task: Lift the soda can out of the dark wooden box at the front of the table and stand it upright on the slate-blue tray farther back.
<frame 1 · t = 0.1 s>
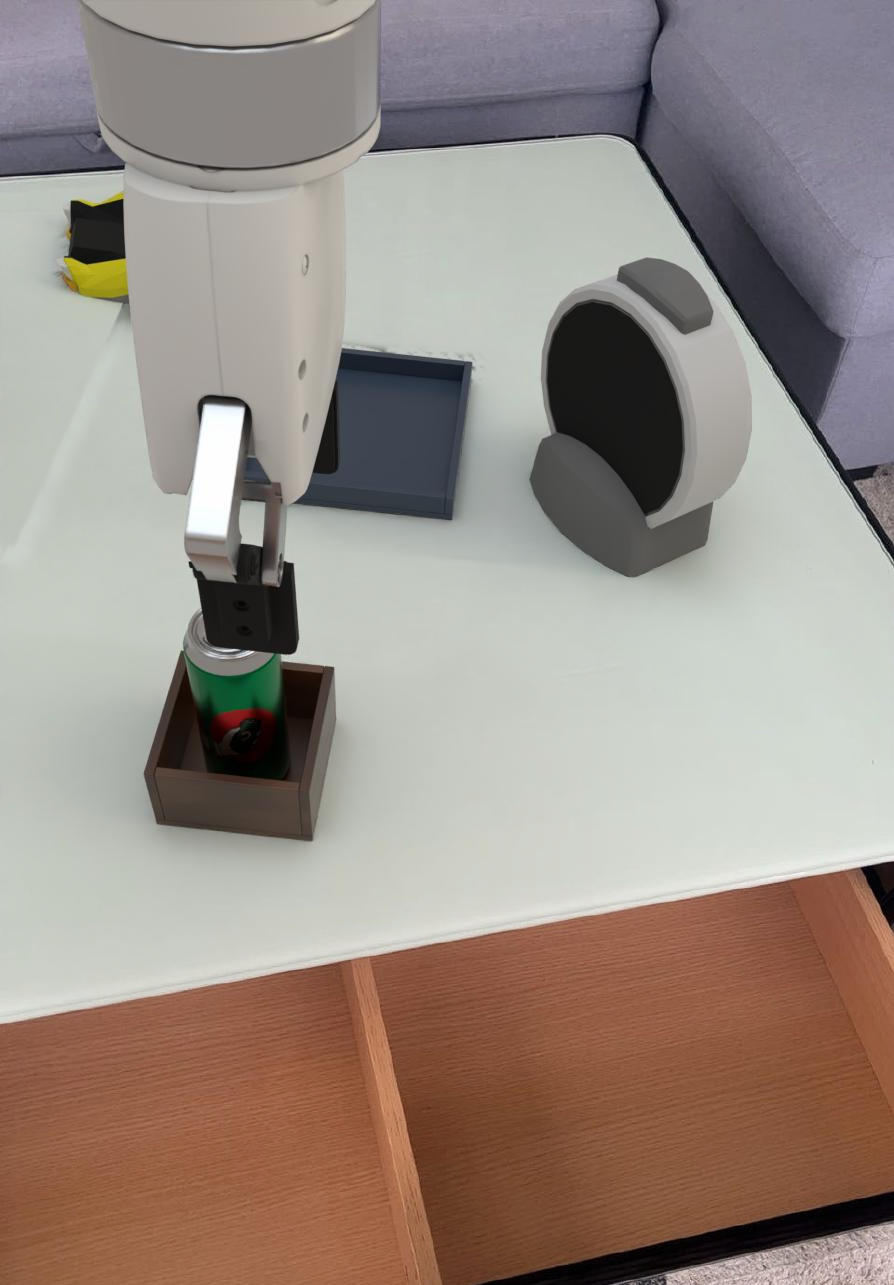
hand: (278, 550, 45), 27 cm above the table, tool pointing down, fingers open, 9 cm apart
soda can: (249, 766, 71), resting on dark wooden box
alarm clock: (616, 510, 87), on the table
tray: (356, 437, 90), on the table
dark wooden box: (249, 769, 71), on the table
gaming controller: (129, 277, 101), on the table
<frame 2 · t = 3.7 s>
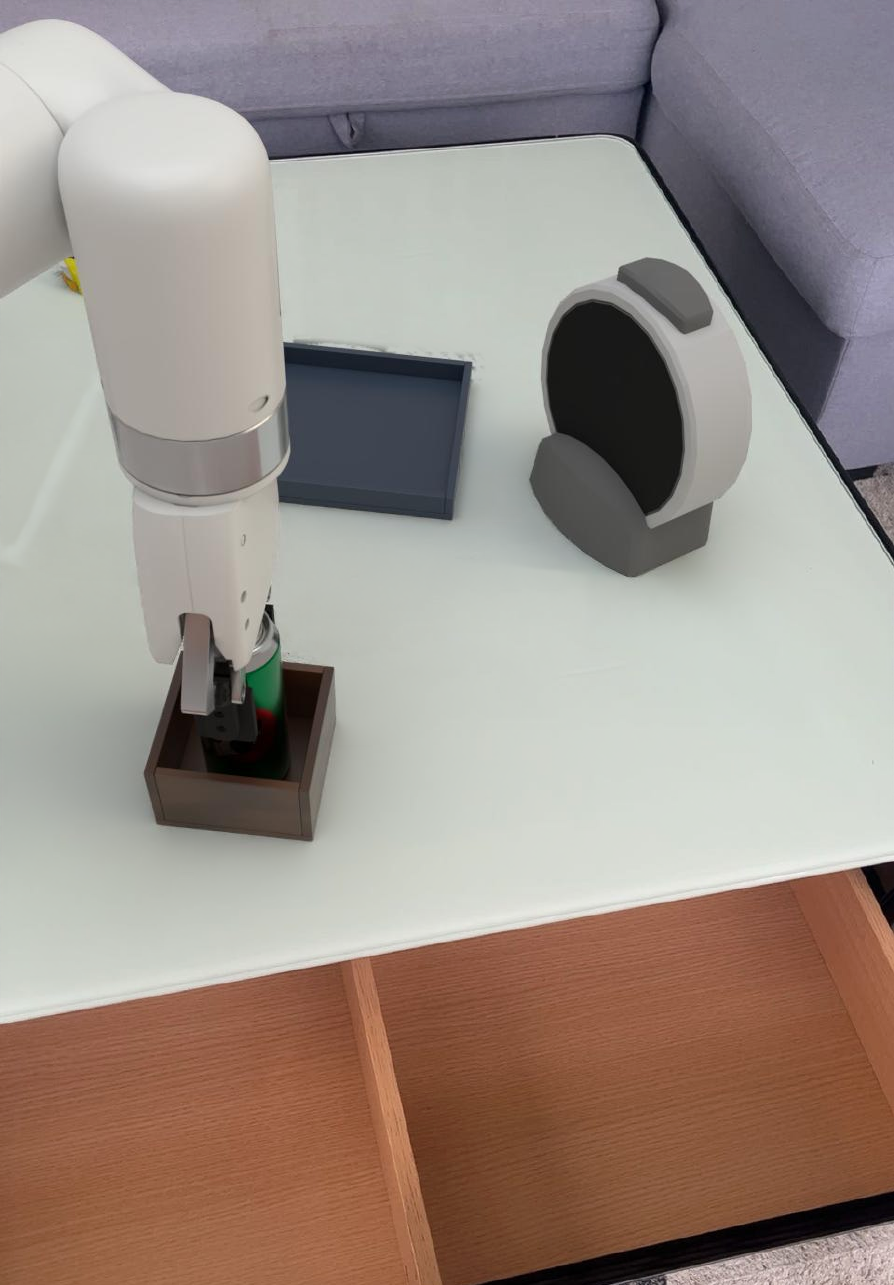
hand: (238, 691, 65), 7 cm above the table, tool pointing down, fingers closed on soda can, 5 cm apart
soda can: (249, 766, 71), resting on dark wooden box, touching gripper
everything else where it was.
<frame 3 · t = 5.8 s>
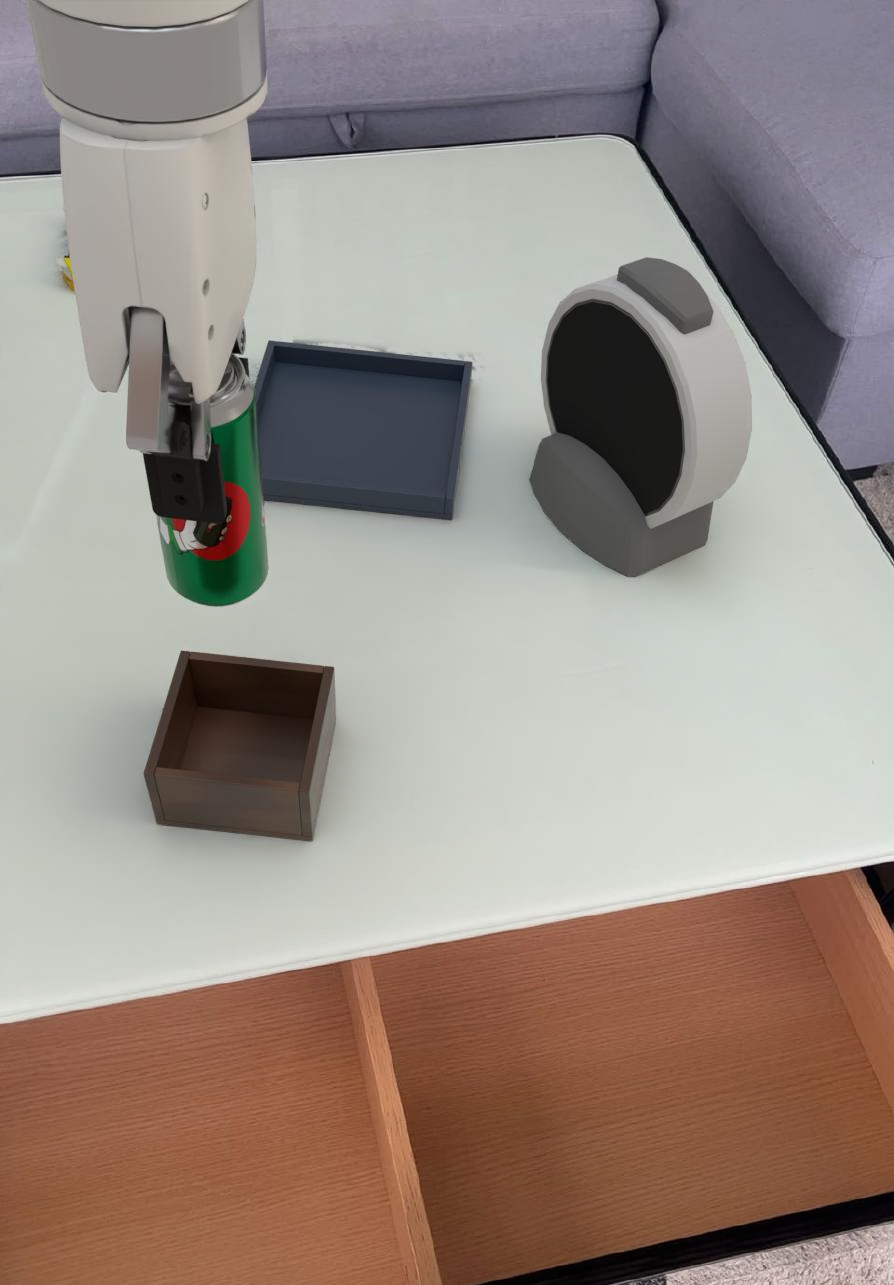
hand: (205, 469, 54), 22 cm above the table, tool pointing down, fingers closed on soda can, 5 cm apart
soda can: (219, 579, 60), point 15 cm above the table, touching gripper
everything else where it was.
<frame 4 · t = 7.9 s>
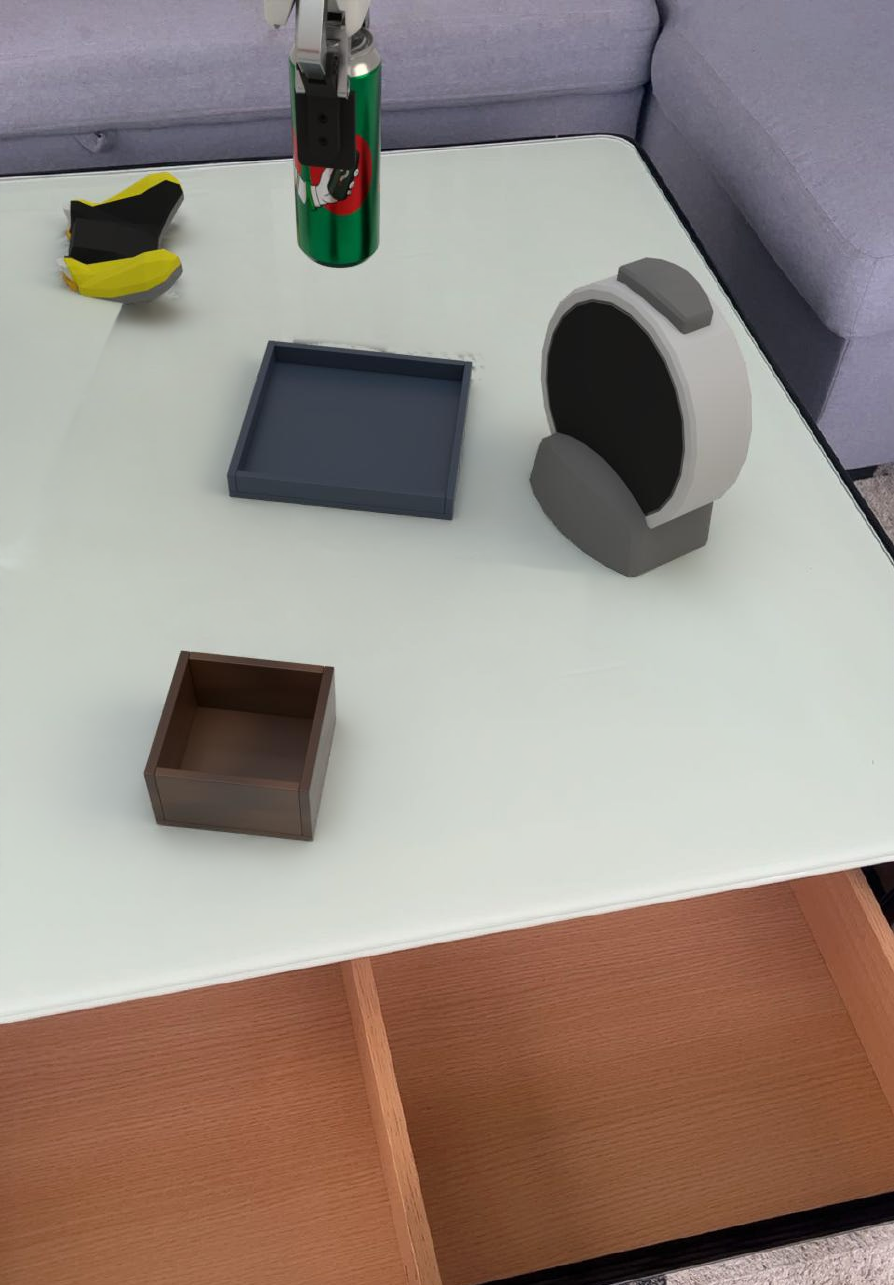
hand: (335, 136, 68), 24 cm above the table, tool pointing down, fingers closed on soda can, 5 cm apart
soda can: (338, 253, 73), point 17 cm above the table, touching gripper
everything else where it was.
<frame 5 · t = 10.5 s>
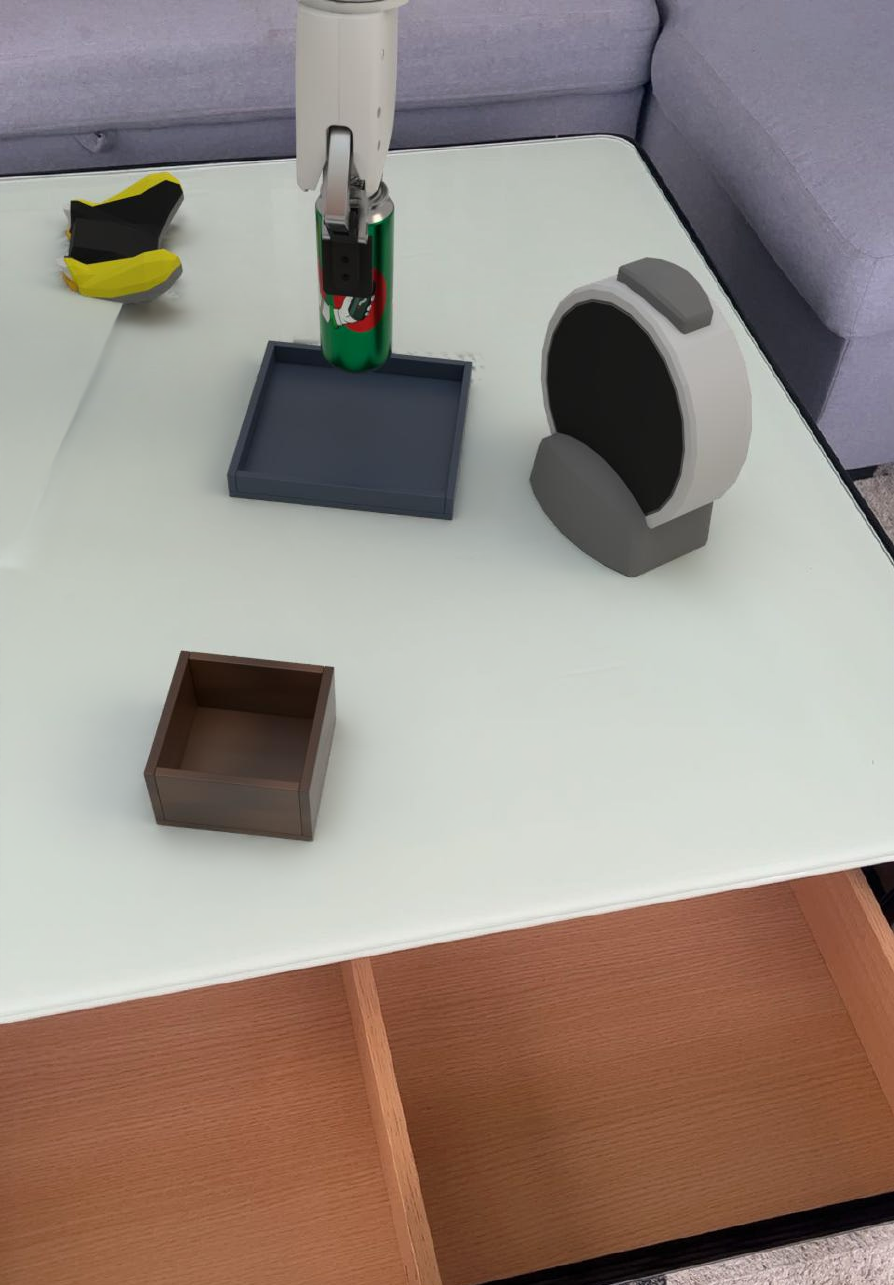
hand: (354, 266, 79), 14 cm above the table, tool pointing down, fingers closed on soda can, 5 cm apart
soda can: (356, 358, 84), point 7 cm above the table, touching gripper
everything else where it was.
when the fingers open (7 cm above the table, at t = 12.4 s): soda can stays where it is, resting on tray.
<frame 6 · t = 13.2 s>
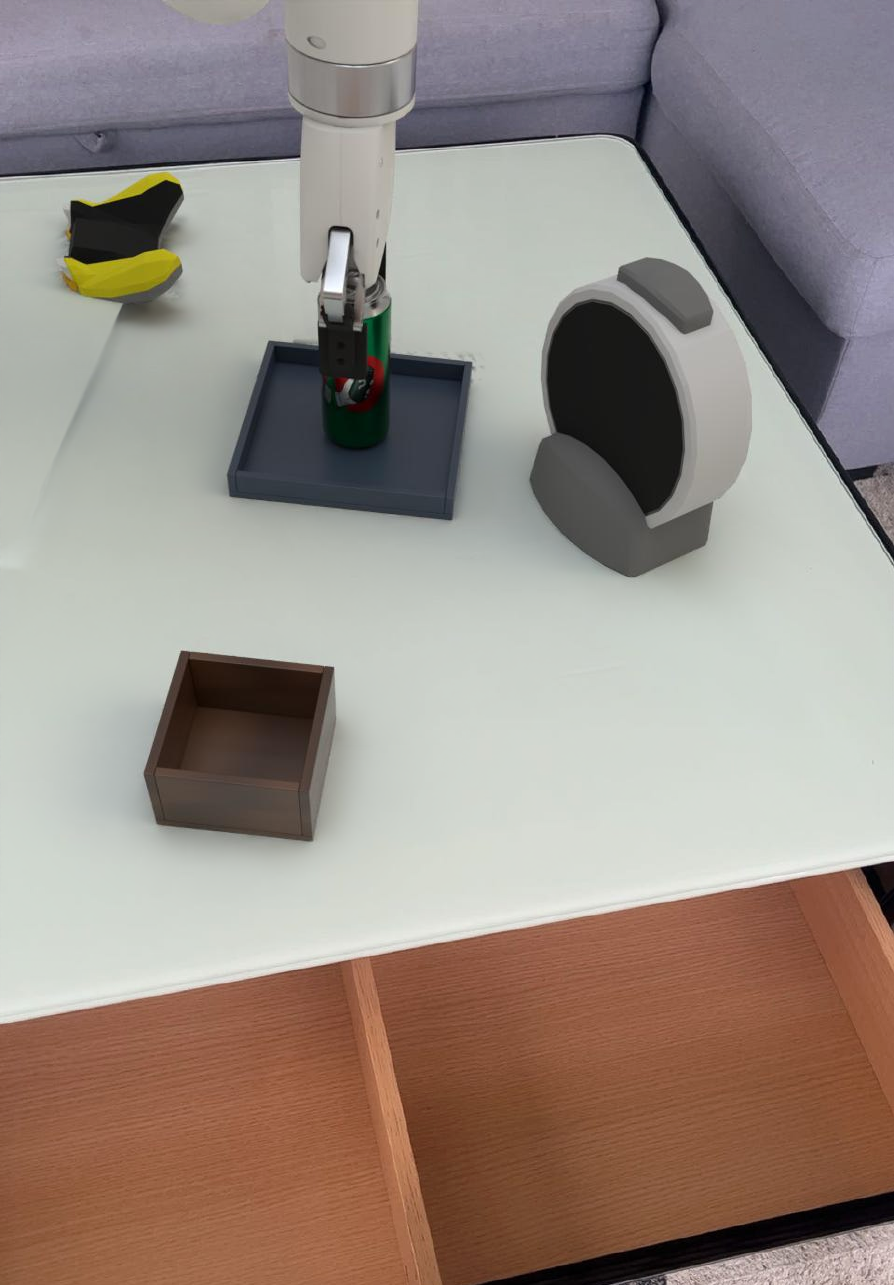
hand: (353, 333, 83), 9 cm above the table, tool pointing down, fingers open, 9 cm apart
soda can: (356, 433, 90), resting on tray
everything else where it was.
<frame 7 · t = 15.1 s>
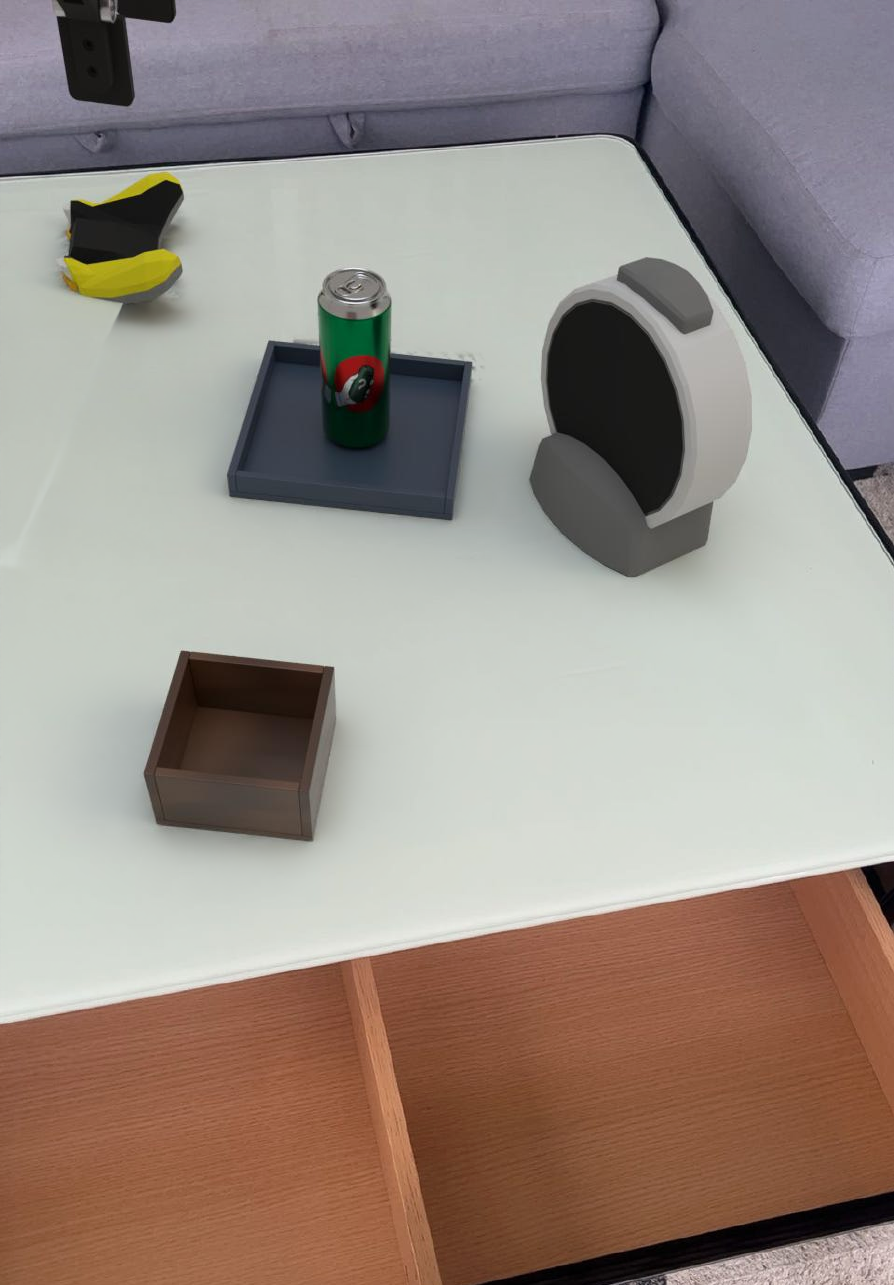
hand: (126, 57, 63), 29 cm above the table, tool pointing down, fingers open, 9 cm apart
nothing on the table moved.
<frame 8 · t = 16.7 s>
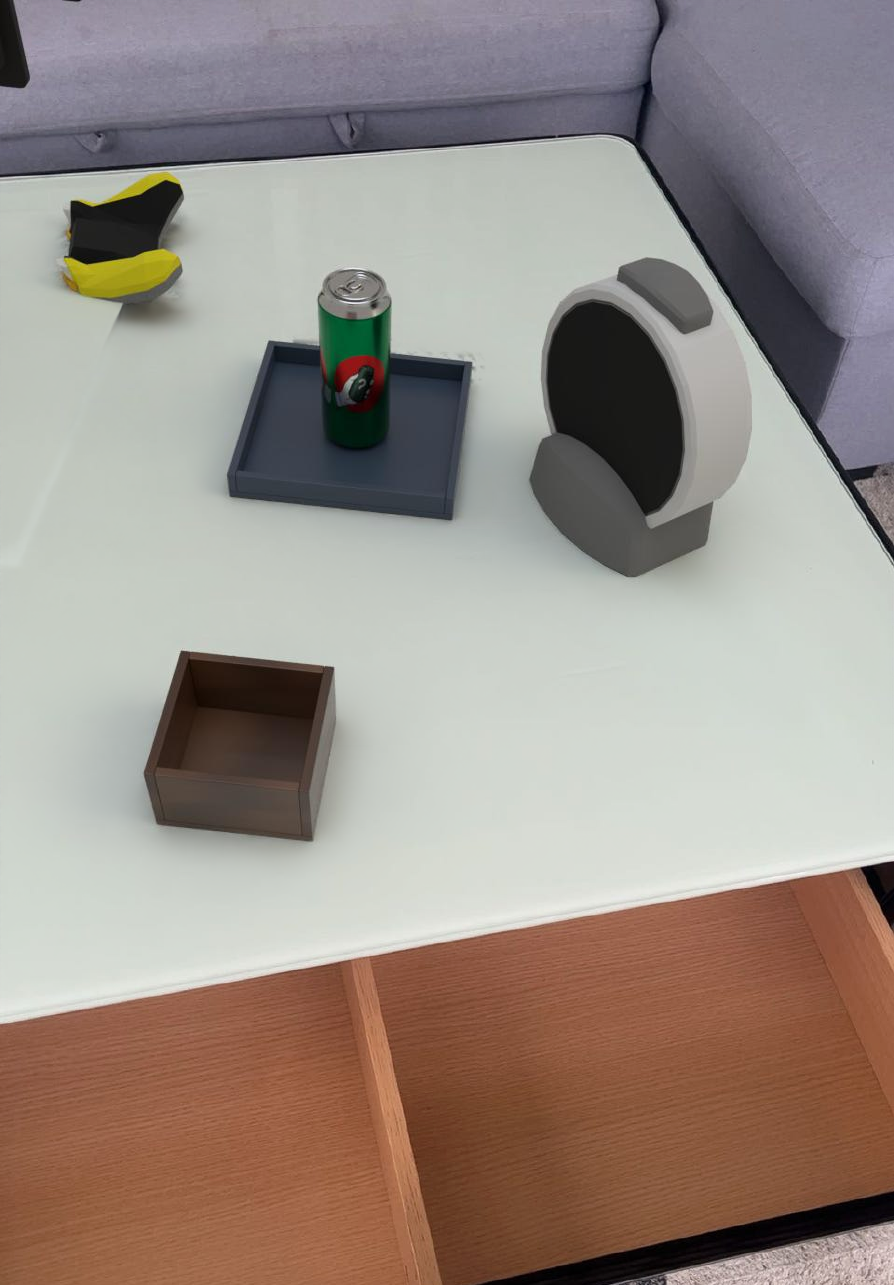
hand: (27, 38, 60), 30 cm above the table, tool pointing down, fingers open, 9 cm apart
nothing on the table moved.
at the end: soda can inside the target area in the tray (0.0 cm from its centre), point 0.3 cm above the tray's base; soda can tilted 0°; soda can touching tray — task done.
